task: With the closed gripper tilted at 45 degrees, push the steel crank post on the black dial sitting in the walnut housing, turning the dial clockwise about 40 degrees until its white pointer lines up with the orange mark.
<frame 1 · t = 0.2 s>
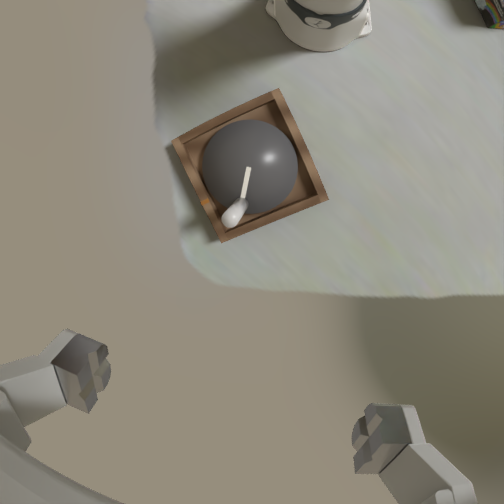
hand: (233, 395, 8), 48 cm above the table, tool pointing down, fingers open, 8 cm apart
dial: (244, 169, 46), point 7 cm above the table, hinge at 0.0°
dial housing: (251, 165, 52), on the table
chalk box: (491, 10, 32), on the table
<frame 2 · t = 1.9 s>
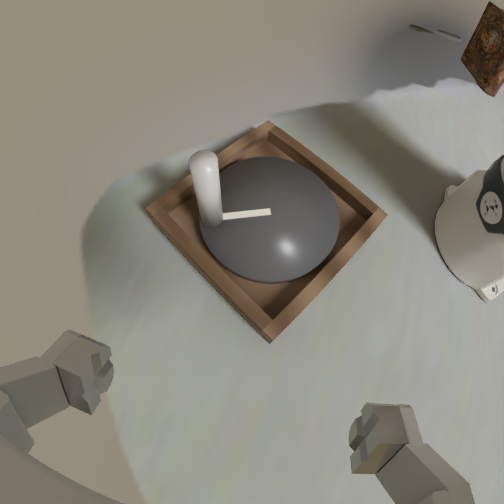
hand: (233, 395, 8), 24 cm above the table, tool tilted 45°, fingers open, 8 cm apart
dial: (274, 189, 30), point 7 cm above the table, hinge at 0.0°
dial housing: (268, 223, 37), on the table
book: (477, 78, 59), on the table
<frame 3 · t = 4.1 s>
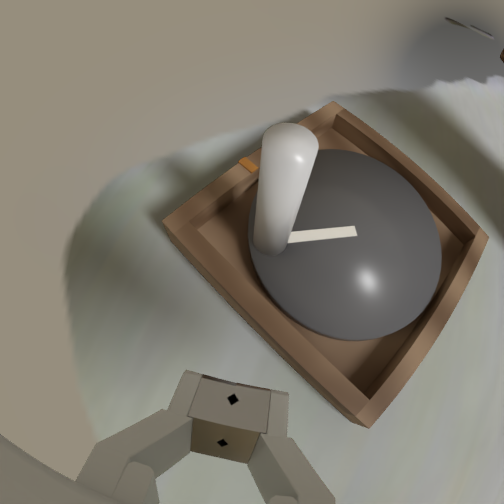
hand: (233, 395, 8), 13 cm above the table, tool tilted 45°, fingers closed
dial: (377, 200, 18), point 7 cm above the table, hinge at 0.0°
dial housing: (344, 246, 25), on the table
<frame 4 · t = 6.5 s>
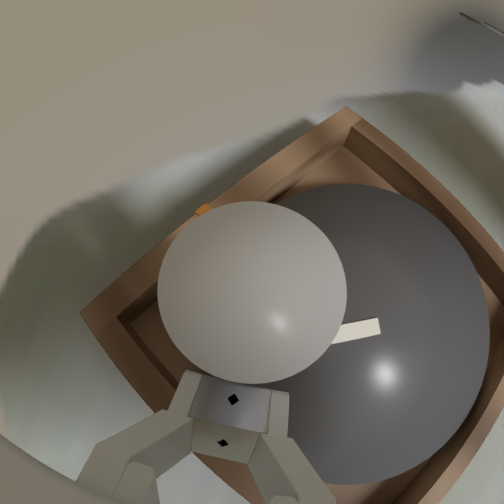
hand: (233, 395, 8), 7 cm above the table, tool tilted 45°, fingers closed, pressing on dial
dial: (427, 304, 10), point 7 cm above the table, hinge at 0.2°, touching gripper
dial housing: (357, 334, 16), on the table
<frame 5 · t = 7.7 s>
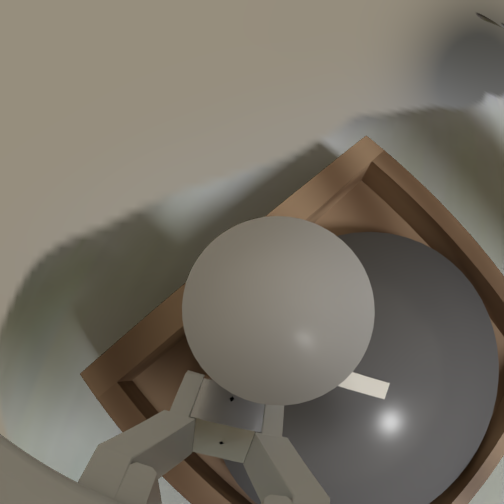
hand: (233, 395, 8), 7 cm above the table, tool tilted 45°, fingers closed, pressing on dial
dial: (437, 396, 8), point 7 cm above the table, hinge at 27.9°, touching gripper
dial housing: (364, 388, 15), on the table
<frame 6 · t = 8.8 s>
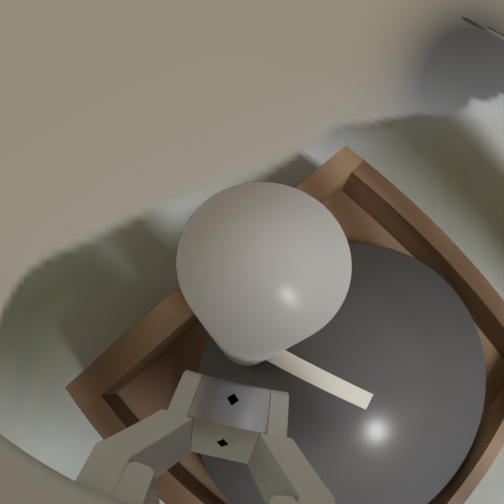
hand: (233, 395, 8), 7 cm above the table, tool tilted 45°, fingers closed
dial: (417, 408, 8), point 7 cm above the table, hinge at 37.6°
dial housing: (348, 398, 15), on the table
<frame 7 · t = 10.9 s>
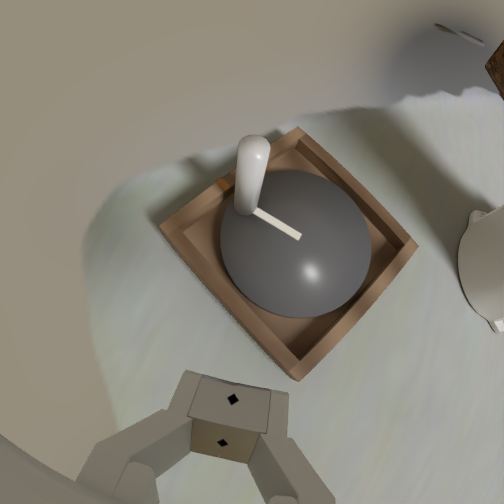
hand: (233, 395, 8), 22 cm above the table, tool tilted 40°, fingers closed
dial: (311, 220, 27), point 7 cm above the table, hinge at 37.6°
dial housing: (294, 246, 34), on the table
book: (500, 88, 54), on the table
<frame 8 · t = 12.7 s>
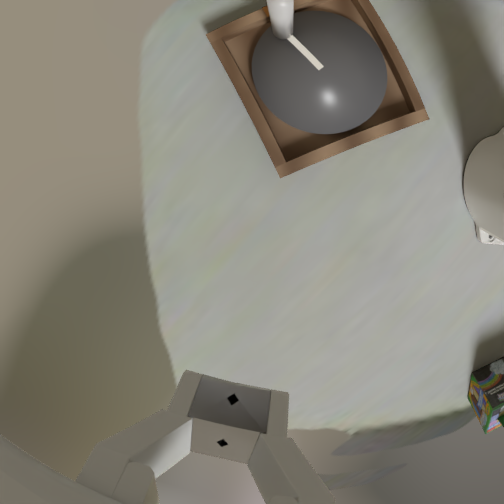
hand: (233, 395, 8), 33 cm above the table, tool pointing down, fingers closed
dial: (325, 59, 26), point 7 cm above the table, hinge at 37.6°
dial housing: (319, 73, 33), on the table
chalk box: (485, 377, 47), on the table
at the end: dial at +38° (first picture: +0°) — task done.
